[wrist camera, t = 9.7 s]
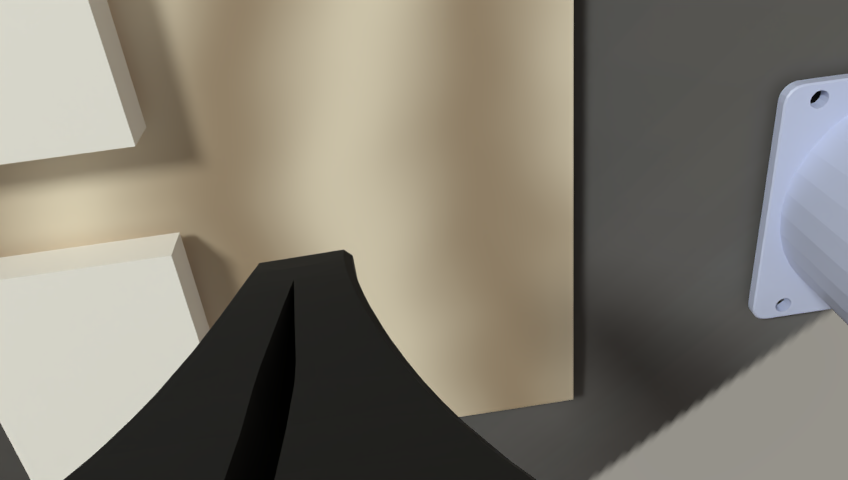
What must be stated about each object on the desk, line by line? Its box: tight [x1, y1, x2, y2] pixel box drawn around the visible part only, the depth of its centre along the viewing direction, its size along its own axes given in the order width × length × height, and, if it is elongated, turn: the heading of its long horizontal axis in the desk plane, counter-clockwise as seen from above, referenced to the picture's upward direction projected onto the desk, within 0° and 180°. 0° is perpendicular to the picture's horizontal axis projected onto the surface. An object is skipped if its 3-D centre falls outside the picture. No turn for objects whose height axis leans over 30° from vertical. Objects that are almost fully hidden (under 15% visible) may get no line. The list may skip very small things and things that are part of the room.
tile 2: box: [0, 232, 210, 480], centre depth 21 cm, size 2×8×6 cm
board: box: [0, 0, 574, 417], centre depth 19 cm, size 17×22×1 cm
